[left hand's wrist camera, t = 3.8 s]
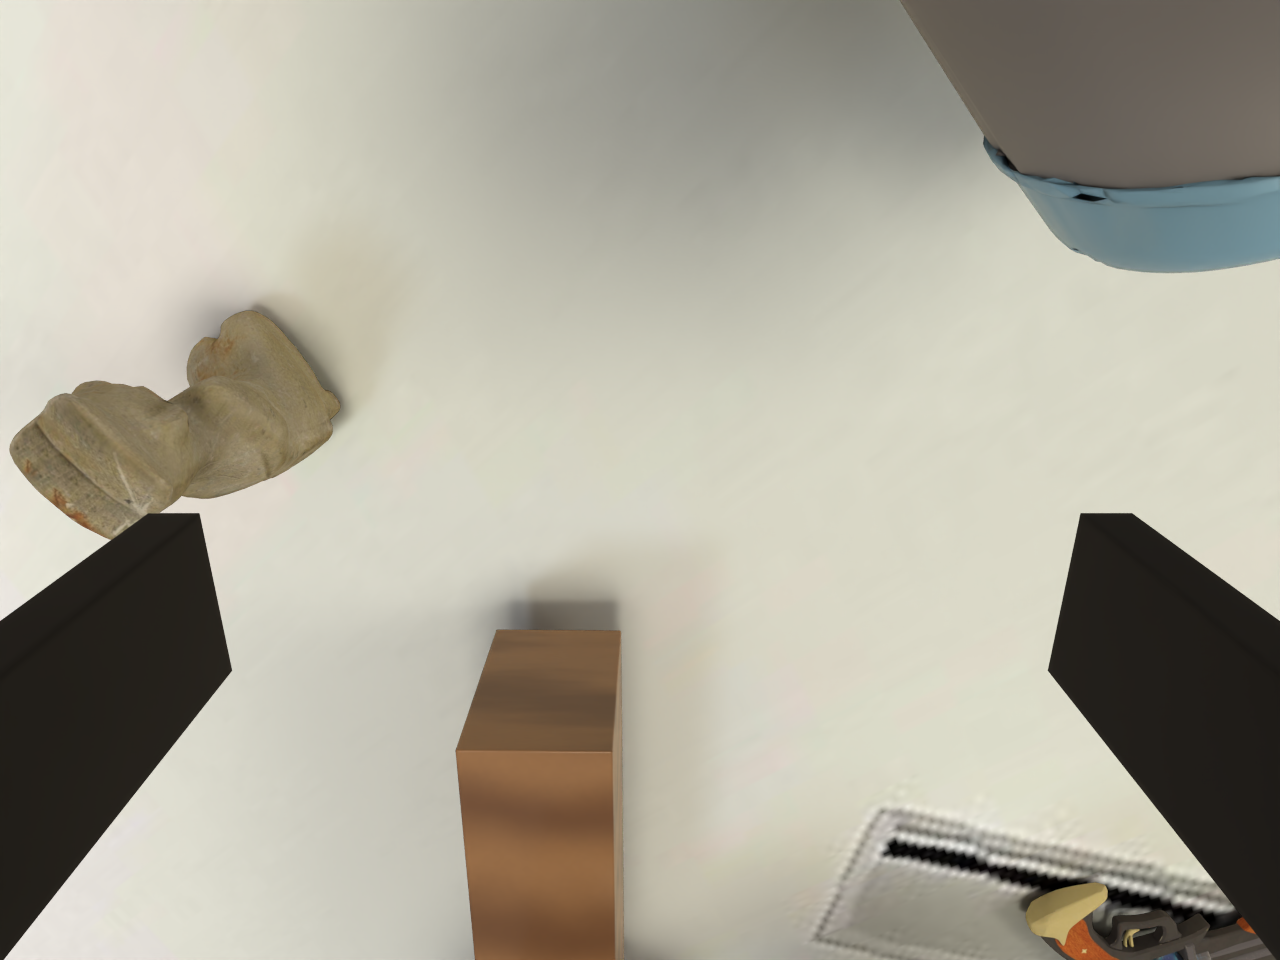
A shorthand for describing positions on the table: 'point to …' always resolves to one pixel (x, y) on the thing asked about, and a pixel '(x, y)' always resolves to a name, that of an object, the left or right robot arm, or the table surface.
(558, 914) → the box
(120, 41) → the table surface
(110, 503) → the sculpture
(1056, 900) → the toy gun
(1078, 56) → the left robot arm
